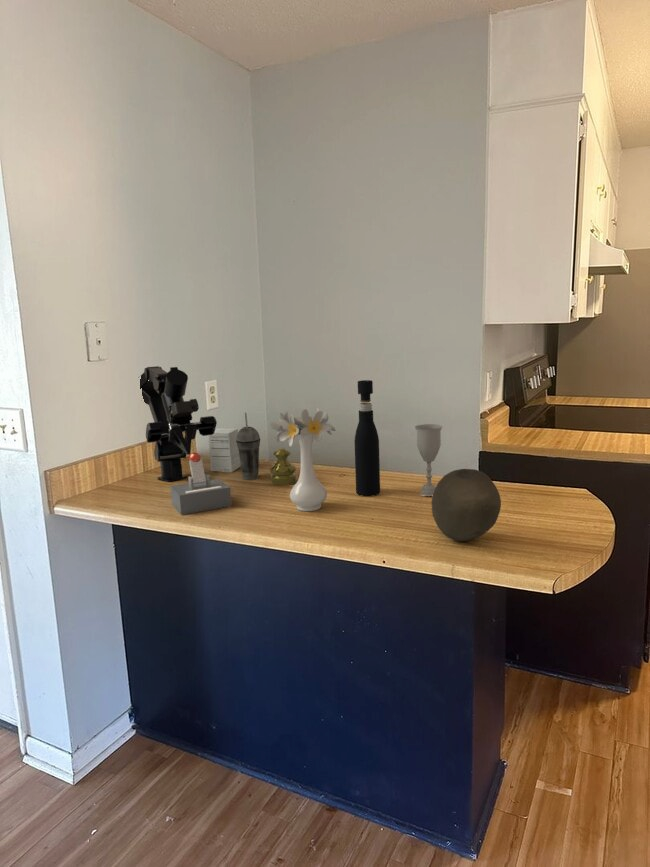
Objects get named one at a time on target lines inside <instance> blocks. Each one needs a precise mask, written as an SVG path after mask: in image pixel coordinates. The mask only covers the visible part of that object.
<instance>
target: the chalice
mask: <svg viewBox="0 0 650 867" xmlns="http://www.w3.org/2000/svg"><path fill="white" fill-rule="evenodd" d="M414 428H415V430H416V446H417V450H418V452H419V454H420V456H421V458H422V460H423V461H424V462H426V469H425V470H426V472H427V473H426V475H425V477H426V481H427V482H426V483H425V484H424V485H422V487H421V490H420V492H419V495H420V494H421V495H425V496H432V495H433V493H434V490H435V488H436V486H437V485H435V484H433V483H432V478H433V475H432V470H433V469H432V462H434V461H435V460H436V458H437V456H438V454H439V451H440V448H441V445H442V444H441V441H442V440H441V438H442V437H441V435H442V434H441V431H442V428H443V425H442V424H436V423H431V424H430V423H426V424H424V423H423V424H419V425H418V424H417V425H415V426H414ZM421 495H420V496H421Z"/></svg>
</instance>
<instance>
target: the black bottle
mask: <svg viewBox="0 0 650 867" xmlns="http://www.w3.org/2000/svg"><path fill="white" fill-rule="evenodd" d="M373 385H374V383H373V380H371V379H369V380H368V379H367V380H365V379H363V380H362V379H361V380H358V381H357V394H358V395H360V403H359V410H358V423H357V427H356V430H355V434H354V461H355V462H354V464H355V465H354V466H355V467H354V469H355V470H354V471H355V493H357V494H358V496H360V495H363V496H362V497H373V496H372V495H375V496H378V495H380V494H379V493H381V475H380V473H381V472H380V471H381V470H380V469H381V468H380V466H381V465H380V438H379V434H378V429H377V427H376V425H375V421H374V410H373V407H372V406H373V405H372V402H371V400H372V399H371V394H373V393H374V388H373ZM357 494H356V495H357ZM377 494H378V495H377Z"/></svg>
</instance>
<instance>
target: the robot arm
mask: <svg viewBox="0 0 650 867" xmlns="http://www.w3.org/2000/svg"><path fill="white" fill-rule="evenodd" d="M140 376H141V379H140V389H141V388H142V396H143V399H144V402H145V403H144V402H143V403H144V404H146V405H148V407H149V410H150V413H151V417H152V419H153V422H148V423H147V424H146V427H145V428H146V429H145V439H146V442H147V443H155V444H154V449H153V450H154V451H153V456H154V460H155V461H157V462H158V463H160V464H159V465H160V471H161V472H160V473H161V476H157V478H156V479H157V480H159V481H160V480H161V481H163V482H169V483H170V482H173V481H175V482H176V481H177V480H182V479H185V478H187V477H188V476H187V475H185V474H183V465H182V459H187V458H186V457H187V456H190V455H191V450H192V440H195V439H196V435H197V432H198V433H199V435H201V436H202V437H204V436H205V437H206V436H209V435H212V434H214V432H215V430H216V429H217V428H216V427H217V424H218V422H217V419H216V417H215V416H214V415H209V416H200V418H199V421H197V422H196V421H195V422H192V420H193V416H192V414H193V413H196V412H198V411H199V403H198V400H197V398H190V399H189V400H184V399H185V398H184V396H185V395H186V391H187V390H186V389H187V386H188V385H187V384H188V379H189V377H188V374H187V373H186V372H185V371H183V370H180V369H179V368H178V366H173V367H170V368H169V371H166V370H164V369H163V368H162V366H159V365H158V366H147V367H144V370H143V373H142V374H141V375H140ZM148 380H149V381H148ZM183 433H184V434H183Z"/></svg>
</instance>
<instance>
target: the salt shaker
mask: <svg viewBox="0 0 650 867" xmlns="http://www.w3.org/2000/svg"><path fill="white" fill-rule="evenodd" d="M291 453H292V452H291V451H290V450H288V449H286V448H284V447H281V448H278V449H277V450H275V451H274V452H273V456H275V457H276V458H277V461H276V462H275V463H274V464H273V465H272V466H271V467H270V468H269V471H270V474H271V475H270V483H271V484H272V485H274V486H289V485H293V484H296V483H297V474H296V465H294V464H292V463H291V462H290V460H288V457H289V456H290V455H291Z"/></svg>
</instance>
